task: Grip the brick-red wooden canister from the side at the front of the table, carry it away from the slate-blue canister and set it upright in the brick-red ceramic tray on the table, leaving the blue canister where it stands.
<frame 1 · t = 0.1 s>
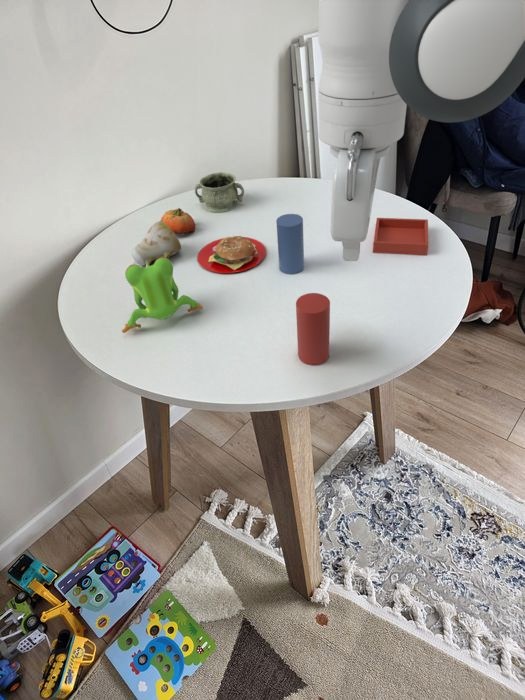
hand: (355, 237, 60), 21 cm above the table, tool pointing down, fingers open, 8 cm apart
vessel: (221, 206, 117), on the table
red tray: (400, 240, 98), on the table
red canister: (313, 354, 76), on the table
tomato: (179, 231, 109), on the table
mug: (158, 260, 101), on the table
blue canister: (291, 267, 94), on the table
hamburger: (232, 256, 100), on the table
toy: (161, 316, 86), on the table
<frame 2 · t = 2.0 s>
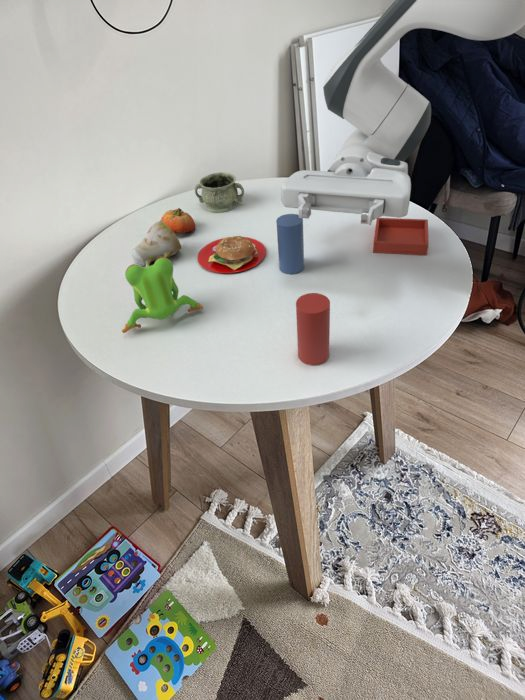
hand: (333, 216, 72), 17 cm above the table, tool horizontal, fingers open, 8 cm apart
nothing on the table moved.
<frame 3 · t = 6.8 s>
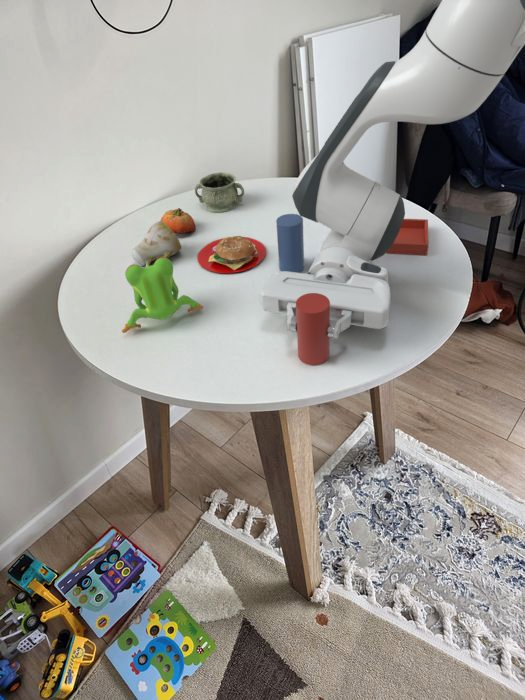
hand: (311, 331, 71), 6 cm above the table, tool horizontal, fingers closed on red canister, 5 cm apart
red canister: (313, 354, 76), on the table, touching gripper
everything else where it was.
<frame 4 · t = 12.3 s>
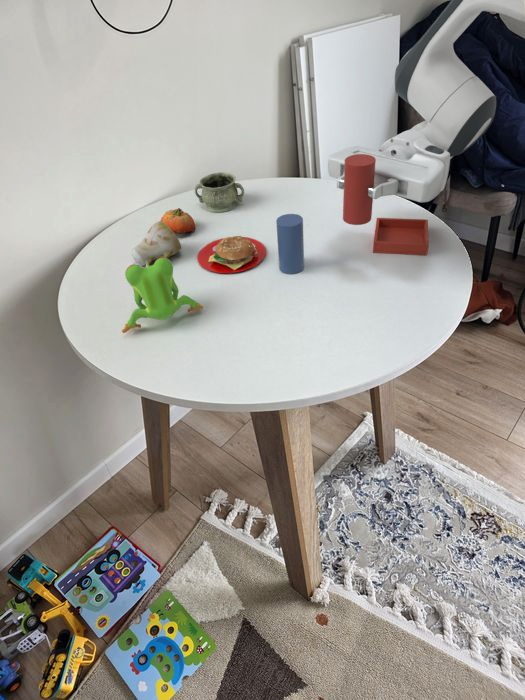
hand: (355, 189, 79), 17 cm above the table, tool horizontal, fingers closed on red canister, 5 cm apart
red canister: (357, 218, 83), point 11 cm above the table, touching gripper
everything else where it was.
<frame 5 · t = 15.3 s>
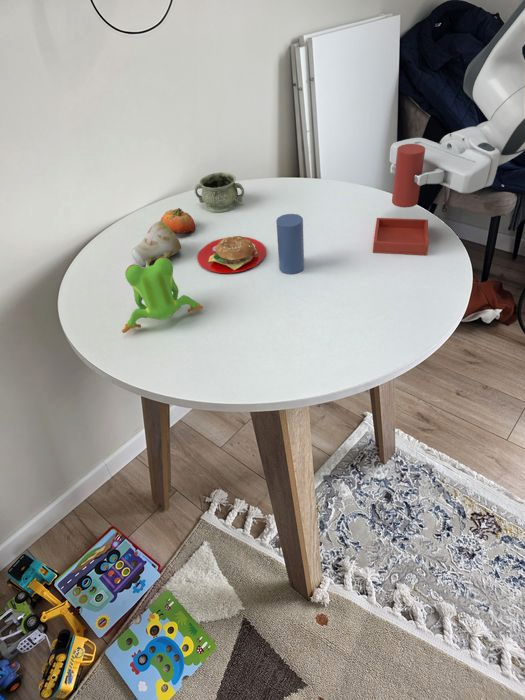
hand: (404, 174, 89), 14 cm above the table, tool horizontal, fingers closed on red canister, 5 cm apart
red canister: (404, 201, 93), point 8 cm above the table, touching gripper
everything else where it was.
when the fingers open (6 cm above the table, at t = 17.9 s): red canister stays where it is, resting on red tray.
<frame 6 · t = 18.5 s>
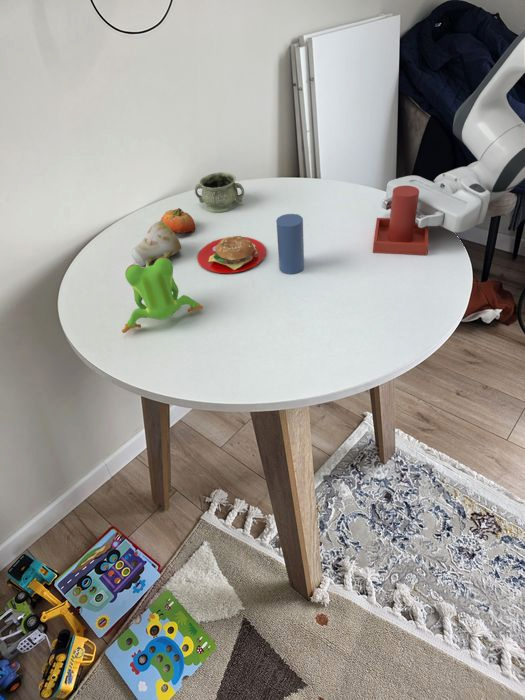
hand: (400, 213, 94), 6 cm above the table, tool horizontal, fingers open, 8 cm apart
red canister: (400, 238, 98), resting on red tray
everything else where it was.
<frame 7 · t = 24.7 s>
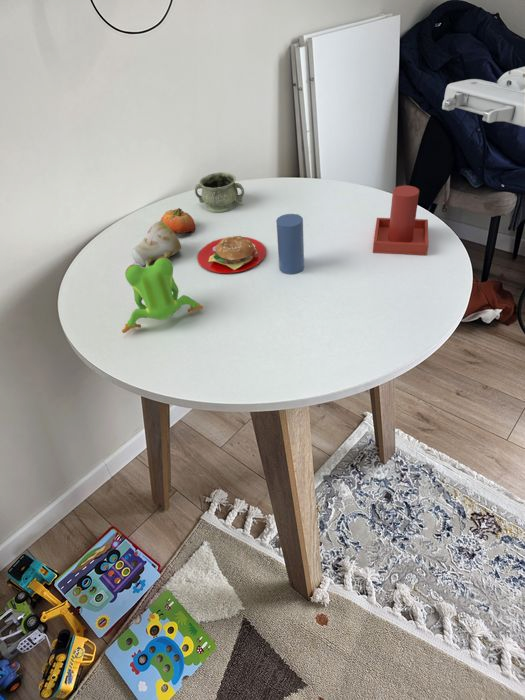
hand: (464, 111, 88), 22 cm above the table, tool horizontal, fingers open, 8 cm apart
nothing on the table moved.
at the end: red canister 0.1 cm off-centre in the red tray, point 0.5 cm above the red tray's base; red canister tilted 0°; blue canister moved 0.0 cm from its start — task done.
